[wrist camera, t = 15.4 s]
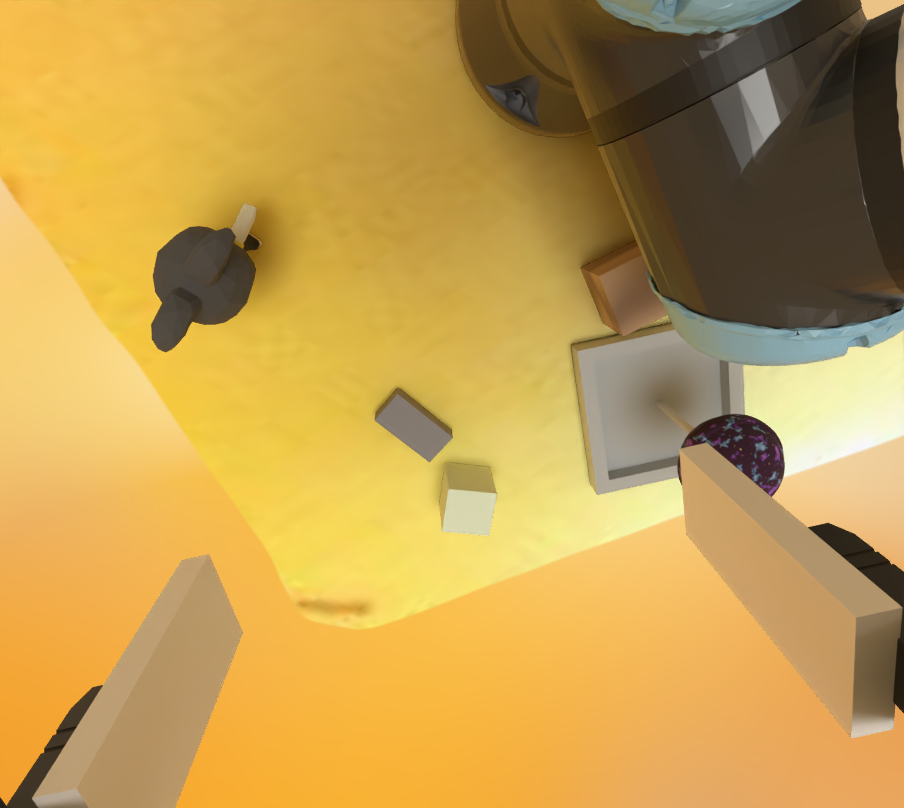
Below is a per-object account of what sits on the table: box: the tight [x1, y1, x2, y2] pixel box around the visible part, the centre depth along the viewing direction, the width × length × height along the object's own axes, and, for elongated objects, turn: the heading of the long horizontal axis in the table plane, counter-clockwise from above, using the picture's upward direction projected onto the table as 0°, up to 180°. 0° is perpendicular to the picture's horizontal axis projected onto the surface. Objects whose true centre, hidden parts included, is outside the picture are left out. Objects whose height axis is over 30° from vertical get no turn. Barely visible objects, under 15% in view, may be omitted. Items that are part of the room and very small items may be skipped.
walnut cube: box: [581, 240, 668, 336], centre depth 44 cm, size 5×5×5 cm
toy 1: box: [151, 203, 262, 352], centre depth 37 cm, size 8×5×15 cm, turn 145°
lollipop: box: [656, 400, 785, 497], centre depth 43 cm, size 7×7×15 cm
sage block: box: [439, 462, 497, 536], centre depth 50 cm, size 4×4×5 cm
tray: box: [571, 323, 745, 495], centre depth 50 cm, size 13×13×2 cm
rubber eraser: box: [375, 388, 453, 462], centre depth 49 cm, size 6×3×2 cm, turn 48°
